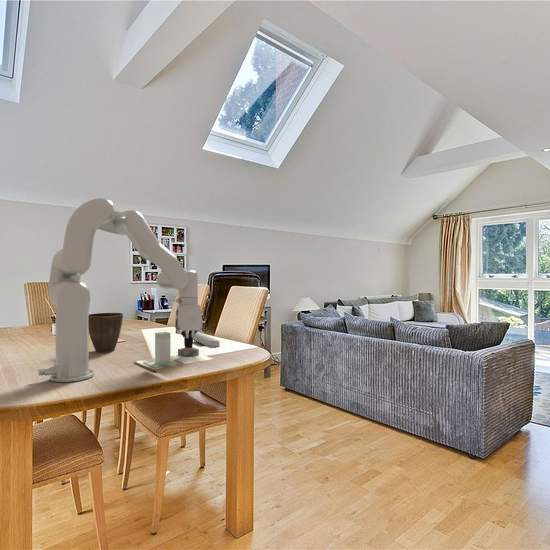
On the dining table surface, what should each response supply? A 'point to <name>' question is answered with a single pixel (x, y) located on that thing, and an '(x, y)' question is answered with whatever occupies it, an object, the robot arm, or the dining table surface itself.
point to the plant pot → (105, 330)
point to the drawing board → (174, 360)
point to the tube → (206, 340)
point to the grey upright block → (162, 348)
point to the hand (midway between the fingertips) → (188, 347)
